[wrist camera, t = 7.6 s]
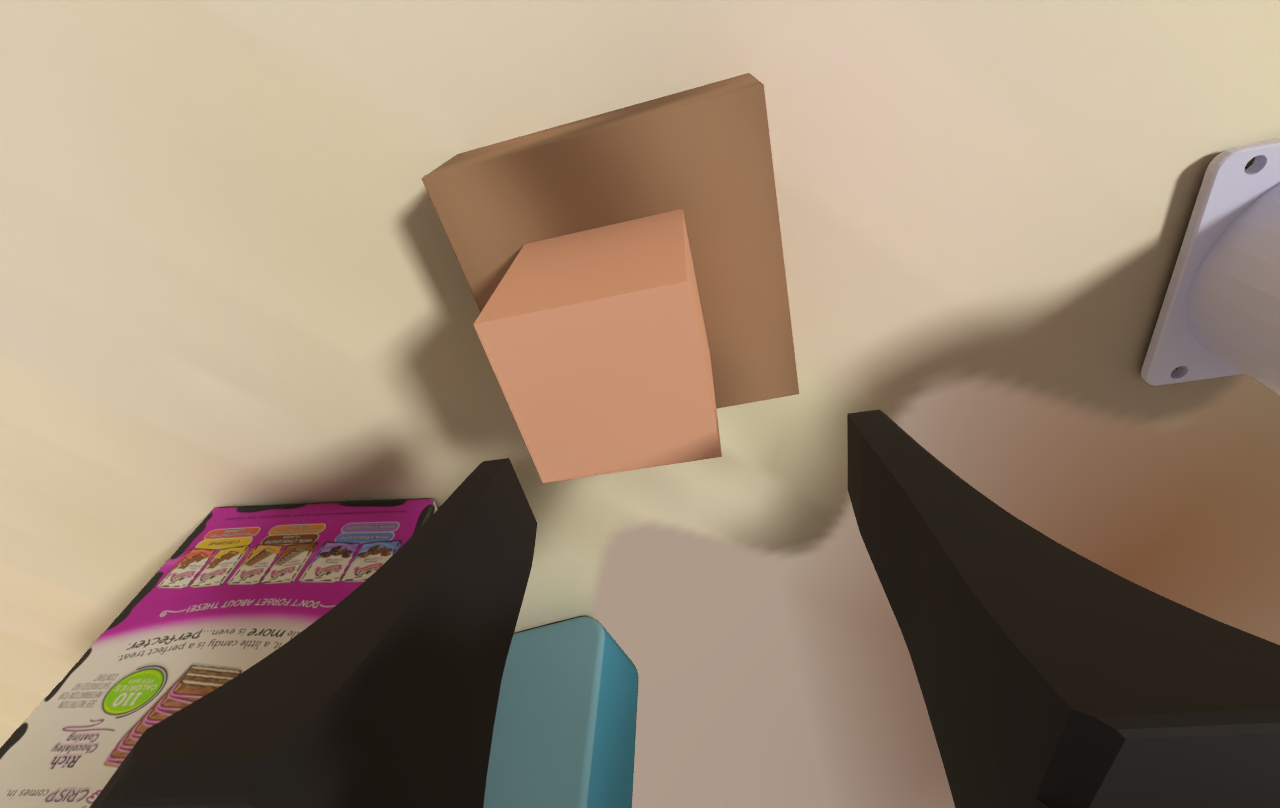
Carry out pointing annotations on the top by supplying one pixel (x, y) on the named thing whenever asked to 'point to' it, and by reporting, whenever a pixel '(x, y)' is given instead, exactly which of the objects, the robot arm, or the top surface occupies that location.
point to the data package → (564, 721)
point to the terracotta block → (605, 350)
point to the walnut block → (646, 213)
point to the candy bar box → (198, 634)
